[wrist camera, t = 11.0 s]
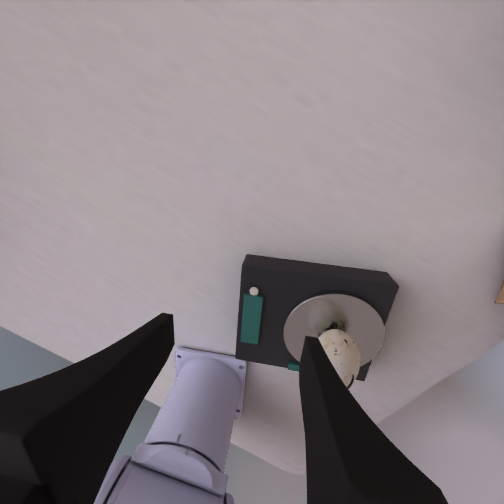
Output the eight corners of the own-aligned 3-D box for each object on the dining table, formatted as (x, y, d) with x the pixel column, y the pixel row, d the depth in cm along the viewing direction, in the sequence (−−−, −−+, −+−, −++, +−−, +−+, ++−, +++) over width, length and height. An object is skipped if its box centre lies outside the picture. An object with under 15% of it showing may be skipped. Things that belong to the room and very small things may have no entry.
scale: (357, 360, 24) (365, 386, 21) (239, 341, 25) (234, 362, 22) (386, 272, 20) (402, 289, 17) (246, 254, 21) (240, 267, 18)
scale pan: (367, 374, 21) (369, 379, 20) (278, 358, 22) (277, 364, 21) (395, 298, 18) (399, 302, 17) (290, 283, 19) (290, 287, 18)
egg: (343, 355, 20) (359, 414, 15) (306, 343, 20) (312, 399, 15) (359, 326, 19) (383, 382, 14) (320, 314, 19) (332, 365, 14)
